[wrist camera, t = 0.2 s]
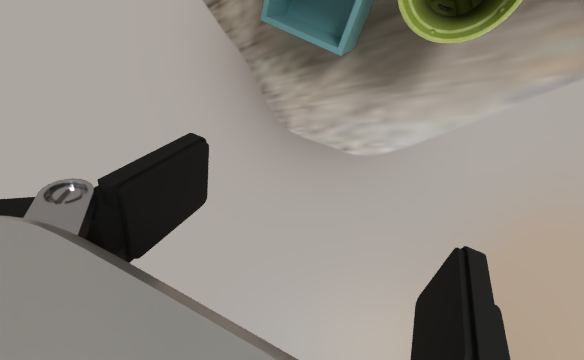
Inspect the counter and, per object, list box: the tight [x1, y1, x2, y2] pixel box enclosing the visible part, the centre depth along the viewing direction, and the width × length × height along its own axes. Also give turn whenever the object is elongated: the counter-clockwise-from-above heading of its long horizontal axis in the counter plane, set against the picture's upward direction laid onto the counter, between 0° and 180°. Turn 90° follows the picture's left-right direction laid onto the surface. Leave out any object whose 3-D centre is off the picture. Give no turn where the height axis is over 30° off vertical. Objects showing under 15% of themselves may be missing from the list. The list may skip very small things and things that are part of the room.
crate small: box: [260, 0, 374, 56], centre depth 32 cm, size 7×10×6 cm, turn 72°
